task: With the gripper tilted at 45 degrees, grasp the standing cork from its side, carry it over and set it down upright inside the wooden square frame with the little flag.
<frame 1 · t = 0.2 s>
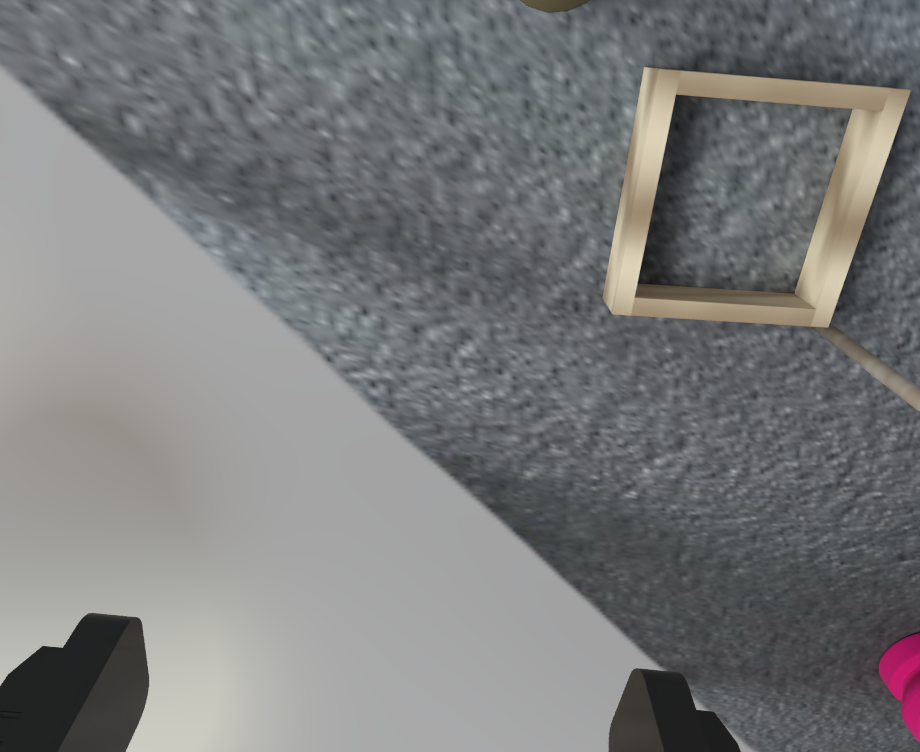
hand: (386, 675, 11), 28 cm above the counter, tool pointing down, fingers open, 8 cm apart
pepper mill: (916, 656, 52), on the counter
wooden square frame: (731, 199, 36), on the counter
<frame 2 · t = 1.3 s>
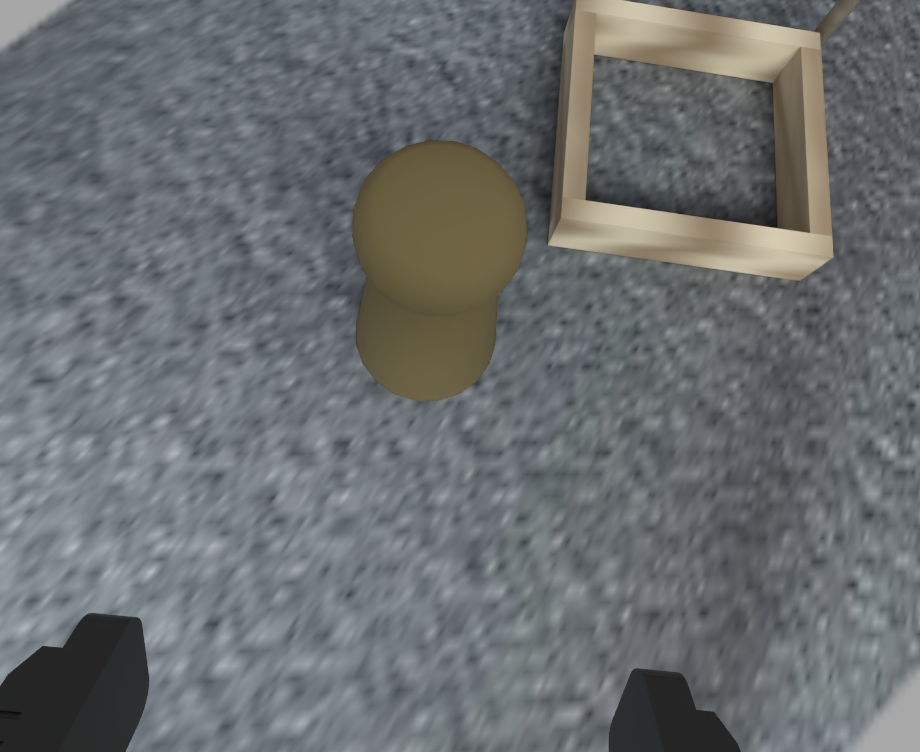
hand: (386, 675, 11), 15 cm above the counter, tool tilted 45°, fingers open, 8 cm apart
cork: (425, 334, 29), on the counter
wooden square frame: (676, 151, 33), on the counter
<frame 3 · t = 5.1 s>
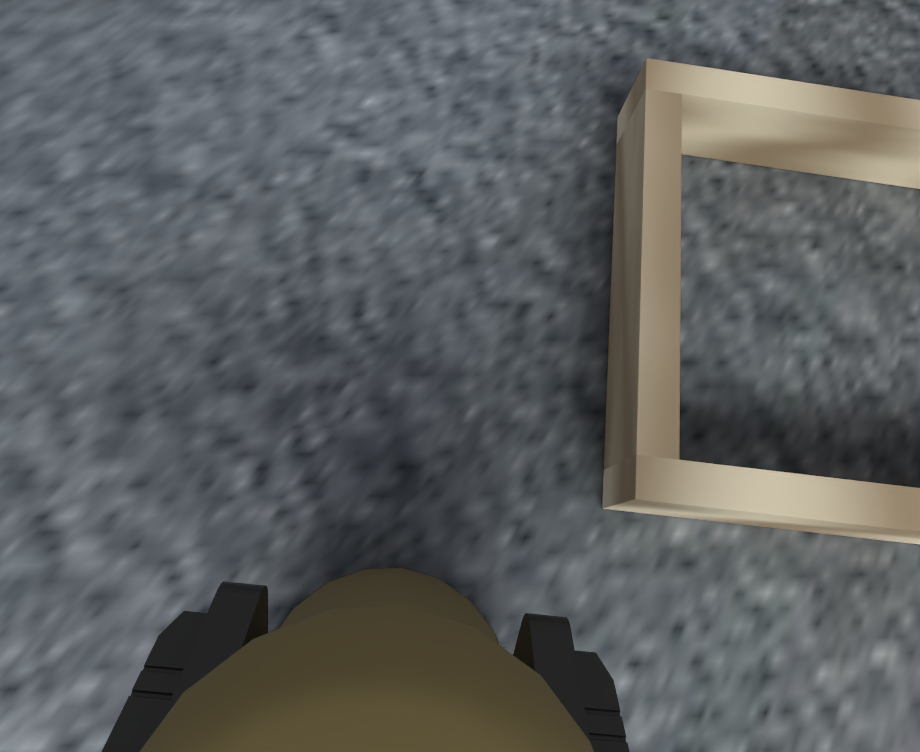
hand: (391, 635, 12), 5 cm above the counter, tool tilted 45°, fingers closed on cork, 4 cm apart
cork: (383, 700, 16), on the counter, touching gripper
wooden square frame: (813, 322, 19), on the counter
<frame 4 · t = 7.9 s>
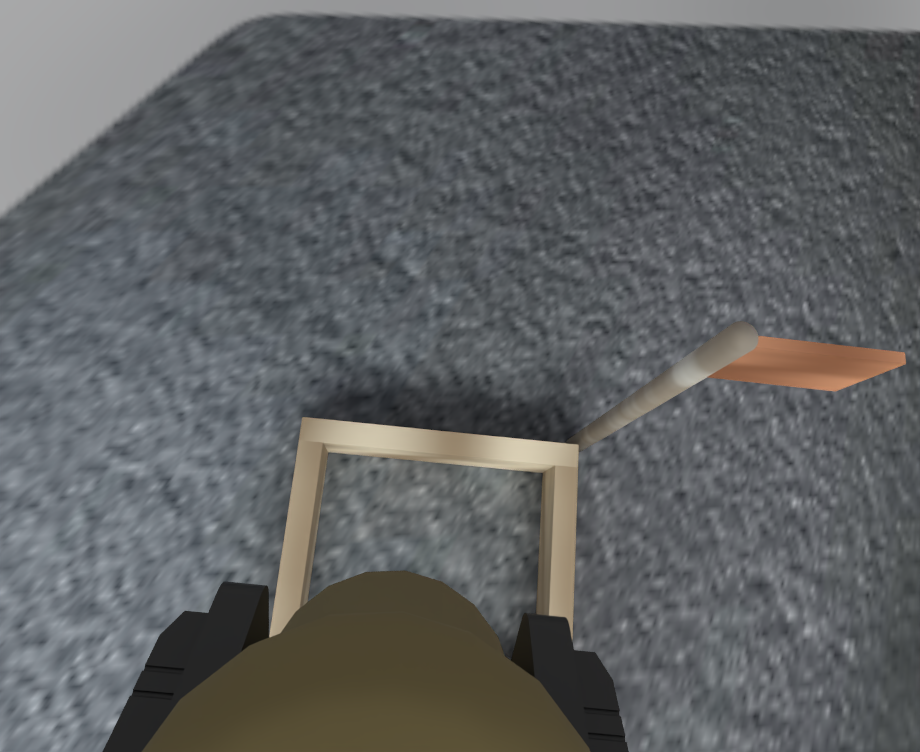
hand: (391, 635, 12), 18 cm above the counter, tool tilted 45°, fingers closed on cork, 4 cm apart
cork: (386, 703, 16), point 13 cm above the counter, touching gripper
wooden square frame: (426, 574, 29), on the counter
when the fingers open (6 cm above the counter, at t = 10.9 s): cork drops 1 cm, resting in wooden square frame.
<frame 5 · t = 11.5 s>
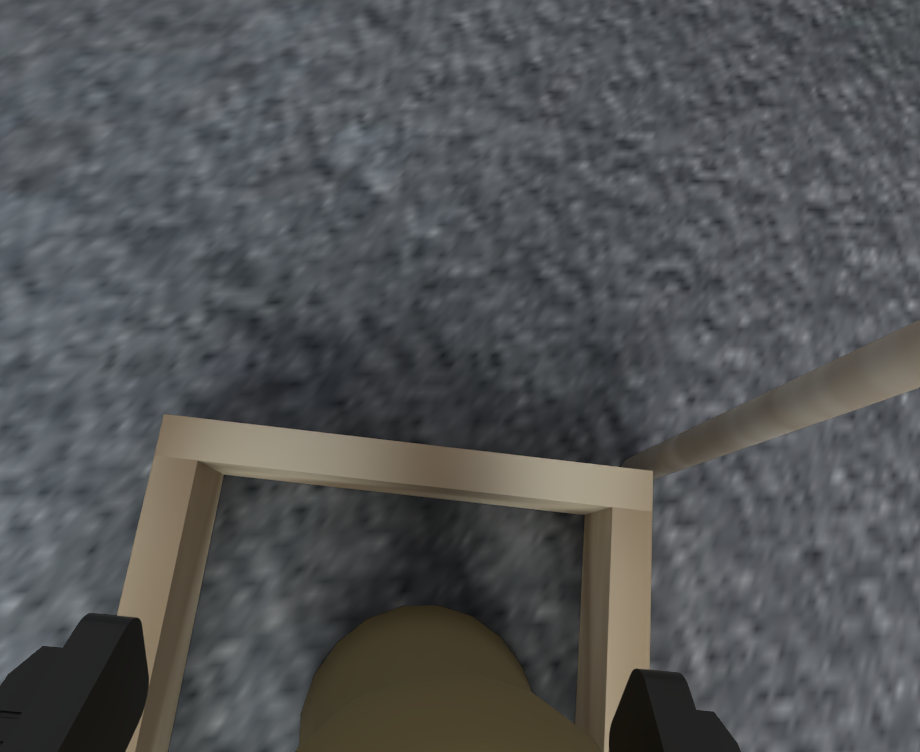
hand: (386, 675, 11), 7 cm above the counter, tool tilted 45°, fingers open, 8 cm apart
cork: (420, 728, 17), resting in wooden square frame
wooden square frame: (383, 692, 17), on the counter
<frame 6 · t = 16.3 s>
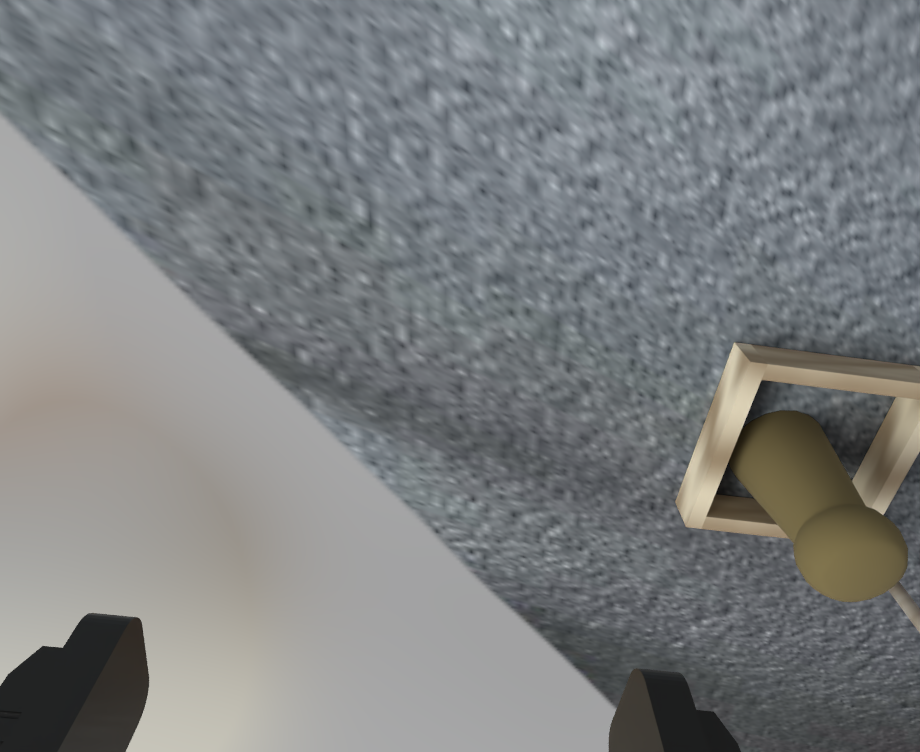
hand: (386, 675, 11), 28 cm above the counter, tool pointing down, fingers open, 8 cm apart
cork: (774, 448, 43), resting in wooden square frame
wooden square frame: (794, 438, 42), on the counter
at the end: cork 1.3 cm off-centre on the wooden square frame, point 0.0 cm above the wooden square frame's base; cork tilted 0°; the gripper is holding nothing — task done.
